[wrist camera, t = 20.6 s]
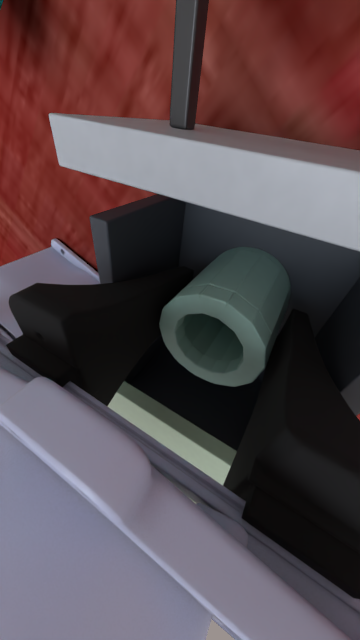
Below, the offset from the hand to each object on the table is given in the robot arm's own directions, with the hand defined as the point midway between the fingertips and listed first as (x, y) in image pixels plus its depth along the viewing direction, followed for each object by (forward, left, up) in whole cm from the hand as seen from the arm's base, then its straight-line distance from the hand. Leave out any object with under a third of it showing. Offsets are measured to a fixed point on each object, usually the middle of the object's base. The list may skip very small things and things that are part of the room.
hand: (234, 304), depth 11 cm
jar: (0, 0, -2) cm, 2 cm away
